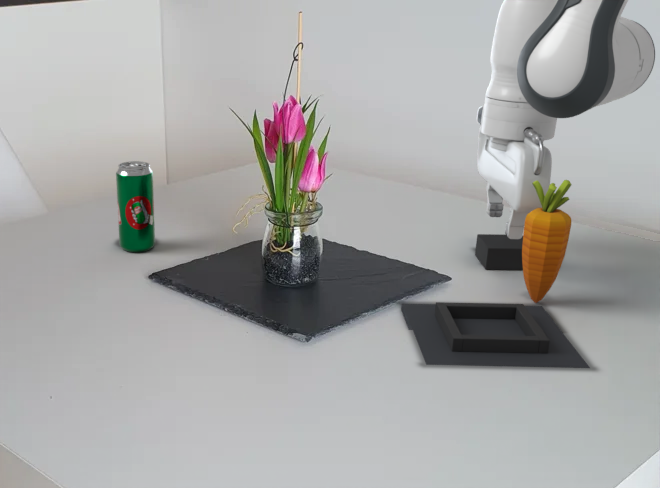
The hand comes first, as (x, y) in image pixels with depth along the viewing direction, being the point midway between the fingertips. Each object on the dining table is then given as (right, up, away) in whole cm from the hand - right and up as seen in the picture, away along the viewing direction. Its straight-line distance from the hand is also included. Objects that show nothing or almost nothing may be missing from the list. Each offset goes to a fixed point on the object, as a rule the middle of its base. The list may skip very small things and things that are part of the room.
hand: (503, 226), depth 110 cm
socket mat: (-9, -14, -21) cm, 27 cm away
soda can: (-49, -2, +9) cm, 50 cm away
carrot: (0, -10, -11) cm, 15 cm away
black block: (+1, -5, +2) cm, 5 cm away
